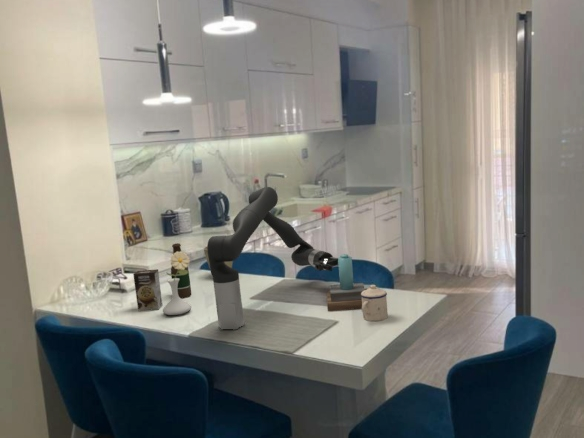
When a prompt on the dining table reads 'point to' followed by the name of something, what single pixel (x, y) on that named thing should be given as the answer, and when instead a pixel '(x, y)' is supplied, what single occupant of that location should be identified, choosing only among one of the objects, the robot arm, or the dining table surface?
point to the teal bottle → (345, 272)
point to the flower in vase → (176, 302)
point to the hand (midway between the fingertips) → (340, 266)
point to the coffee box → (148, 290)
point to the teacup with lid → (374, 304)
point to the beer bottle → (181, 277)
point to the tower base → (343, 304)
